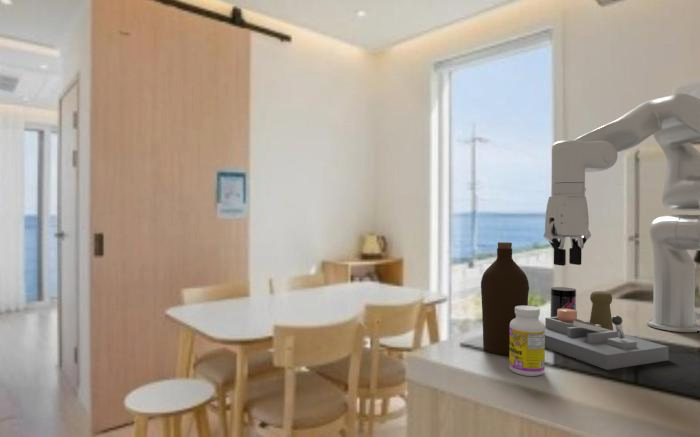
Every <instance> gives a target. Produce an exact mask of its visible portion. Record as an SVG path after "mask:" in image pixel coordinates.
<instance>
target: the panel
mask: <svg viewBox="0 0 700 437" xmlns="http://www.w3.org/2000/svg"><path fill="white" fill-rule="evenodd" d="M577 320H579V321H583V322H587V323H590V320H585V319H582V318H577ZM544 325H545V349H547V348H548V350H550V351H552V352H553V351H554V352H556V353H558V352H559V354H562V355H565V356H567V357H570V358H572V357H573V359H575V358H576V359H575V360H578V361H581V362H584V363H587V364H590V365H592V366H595V367H598V368H601V369H604V370H607V371H608V370H615V369H616V370H617V369H621V368H627V367H634V366H641V365H647V364H653V363H660V362H667V361H669V348H670V347H669V346H668V345H665V344H664V345H663V344H660V343H657V342H652V341H648V340H646V339H641V338H639V337H638V338H637V337H634V336H630V335H628V334H627V335H626V334H624V336H625V338H623V339H619V338H618V334H617V330H616V329H613V331H604V332H598V331H594V330H589V329H586V328H582V327H578V326H575V325H573V322H572V323H566V322H562V321H559V320H557V317H551V316H550V317H545V324H544ZM595 325H596V326H597V327H601V325H598V324H595Z"/></svg>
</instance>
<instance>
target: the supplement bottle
mask: <svg viewBox="0 0 700 437" xmlns="http://www.w3.org/2000/svg"><path fill="white" fill-rule="evenodd" d="M515 314H516V318H515V319H513V320H511V322H510V342H509V355H508V357H509V359H508V360H509V361H508V362H509V363H508V364H509V366H508V367H509V370H510V371H511V372H513V373H515V374H517V375H520V376H524V377H525V376H526V377H536V376H541V375H543V374H544V372H545V367H546V365H545V364H546V362H545V361H546V360H545V358H546V357H545V356H546V355H545V354H546V350H545V349H546V348H545V324H544V322H542V320H540V319H539V318H540V315H541V310H540V307H537V306H534V305H528V306H516V307H515Z"/></svg>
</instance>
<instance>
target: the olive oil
mask: <svg viewBox="0 0 700 437" xmlns="http://www.w3.org/2000/svg"><path fill="white" fill-rule="evenodd" d="M512 246H513V244H512V242H508V241H507V242H504V241H502V242H497V248H496V259H495V260H494V261H493V262H492V263H491V265H489V266H488V267H487V269H485V270H484V272H483V273H482V276H481V279H480V294H481V316H482V317H481V318H482V347H483V349H484V350H485V351H487V352H489V353H493V354H496V355H497V354H498V355H504V356H505V355H506V356H509V342H510V322H511V320H513V319H515V318H516V314H515V307H516V306H529V305H528V303H529V291H530V285H529V281H528V277H527V275H526V273H525V272H524V270H523V269H522V268H521V267H520V266H519V265H518V264H517V262H516V261H515V260H514V259H513V248H512Z"/></svg>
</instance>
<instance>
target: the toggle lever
mask: <svg viewBox="0 0 700 437" xmlns="http://www.w3.org/2000/svg"><path fill="white" fill-rule="evenodd" d="M622 323H623V318H622V317H621V316H620V315H614V316H612V324H613V325H614V326H615V330H617V334H618V338H619V339H623V338H625V336H624V335H625V333H624V329H623V326H622Z"/></svg>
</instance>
